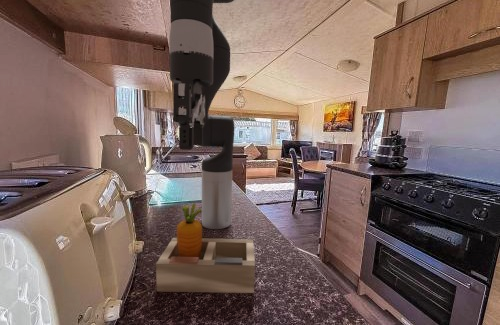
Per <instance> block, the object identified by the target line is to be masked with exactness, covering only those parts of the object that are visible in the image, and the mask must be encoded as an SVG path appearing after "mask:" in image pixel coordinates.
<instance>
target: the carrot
mask: <svg viewBox="0 0 500 325" xmlns="http://www.w3.org/2000/svg"><path fill="white" fill-rule="evenodd" d="M196 206H197V204H196V203H194V202H193V203H192V204H191V209H190V207H189V206H188V205H185V206H183V207H182V208H181V210H182V211H183V214H184V219H183V220H182V221H181V222H178V224H177V225H176V238H177V243H178V250H179V255H180V257H200V252H201V246H202V238H203V226H202V222H200V221H199V220H198V219H195V218H196V217H197V215H199V213H202V208H199V209H196ZM195 209H196V210H195Z"/></svg>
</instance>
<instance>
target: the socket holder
mask: <svg viewBox="0 0 500 325" xmlns="http://www.w3.org/2000/svg"><path fill="white" fill-rule="evenodd" d="M155 270H156V273H155V277H156V279H155V280H156V292H164V293H167V292H168V293H169V292H172V293H173V292H174V293H231V294H232V293H234V294H235V293H237V294H242V293H243V294H254V293H255V275H256V260H255V246H254V239H252V238H251V239H250V238H247V239H244V238H242V239H241V238H203V237H202V246H201V252H200V257H180V255H179V250H178V243H177V237H172V239H171V240H170V242H169V243H168V245H167V246H166V247H165V249H164V251H163V252H162V254H161V256H160V257H159V258H158V260H157V261H156V263H155Z"/></svg>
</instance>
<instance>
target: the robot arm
mask: <svg viewBox="0 0 500 325" xmlns="http://www.w3.org/2000/svg"><path fill="white" fill-rule="evenodd" d="M234 1H235V0H169V4H170V5H169V7H170V9H169V10H170V14H169V15H170V27H169V28H170V29H169V36H168V38H169V39H168V41H169V43H168V44H169V46H168V47H169V80H170V81H171V82H172V83H173V85H172V86H173V87H172V88H173V94H172V95H173V104H172V105H173V110H172V112H173V117H172V120H173V122H174V123H176V125H177V127H178V144H179V146H178V147H179V149H180V150H185V151H190V150H193V149H194V146H200V147H203V148H204V147H205V148H221V151H220V152H218V153H217V154H215V155H213V156H210V157H207V158H204V159H203V160H202V162H201V210H202V212H201V225H202V227H203V228H206V229H208V230H221V229H222V230H223V229H225V228H226V229H227V228H229V227H230V226H231V225H232V209H233V208H232V206H233V205H232V204H233V193H232V192H233V163H234V162H233V160H234V158H233V156H234V154H233V153H234V140H235V122H234V119H233V117H232V116H230V115H229V116H228V115H211V114H209V110H210V107H211V105H212V103H213V101H214V98H215V97H216V95H217V93H218V92H219V90H220V89H221V88H222V86H223V85H224V83H225V81H226V80H227V78H228V77H229V74H230V73H231V46H230V44H229V41H228V39H227V37H226V36H225V34H224V33H223V31H222V29H221V28H220V26H219V25H218V22H217V21H216V19H215V17H214V15H213V14H214V13H213V9H214V8H213V7H214V4H229V3H233V2H234Z"/></svg>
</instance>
